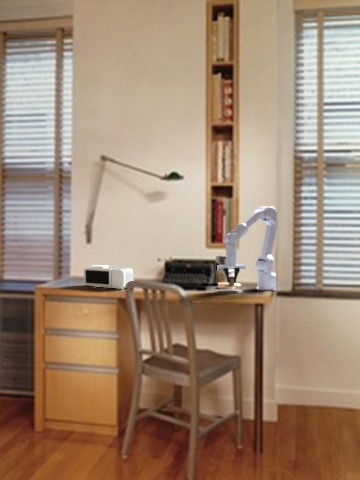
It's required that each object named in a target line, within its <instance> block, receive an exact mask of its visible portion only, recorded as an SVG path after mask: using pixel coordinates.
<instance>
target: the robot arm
mask: <svg viewBox="0 0 360 480" xmlns="http://www.w3.org/2000/svg"><path fill="white" fill-rule="evenodd" d="M259 220H262V221H263V222H264V223H265V224H266V228H265V229H266V230H265V234H264V239H263V242H262V243H263V244H262V249H261V253H260V255H259V256H258V257H257V260H256V262H255V264H254V265H255V266H254V267H255V269H256V271H257V287H256V289H257V291H277V290H276V288H277V287H276V286H277V281H276V280H277V279H276V278H277V277H276V273H275V272H273V271H274V269H275V264H274V263H275V262H274V261H275V259H274V257H273V252H274V246H275V240H276V235H277V230H278V224H279V222H278V221H279V220H278V211H277V209H276V208H275V207H274V206H271V205H270V206H259V207H258V208H257V209H255V210H254V212H253V213H252V214H251V215H250V216H249V217H248V218H247V219H246V220H245V222H244V223H242V222H241V223H238V224H236V227H235V228H233V229H232V230H230V232H229V233H226V234H225V235H224V238H223V242H224V244H225V256H226V265H217V269H224V272H225V274H226V277H227V283H229V269H234V283H237V278H238V276H239V272H240V270H243V269H244V270H246V268H247V265H246V264H238V243H239V242H240V239H241V238H242V237H244V235H246V234H247V233H248V231H249V228H251V227H252V225H254V224H255V223H256V222H258V221H259ZM228 267H234V268H228Z"/></svg>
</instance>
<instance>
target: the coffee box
mask: <svg viewBox="0 0 360 480" xmlns="http://www.w3.org/2000/svg"><path fill="white" fill-rule="evenodd" d="M216 262H218V263H219V265H226V255H223V254H222V255H217V256H215V263H216ZM228 268H235V267H228ZM229 276H234V269H229ZM219 282H227V277H226V274H225V272H224V269H217V284H216V285H218V283H219Z"/></svg>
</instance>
